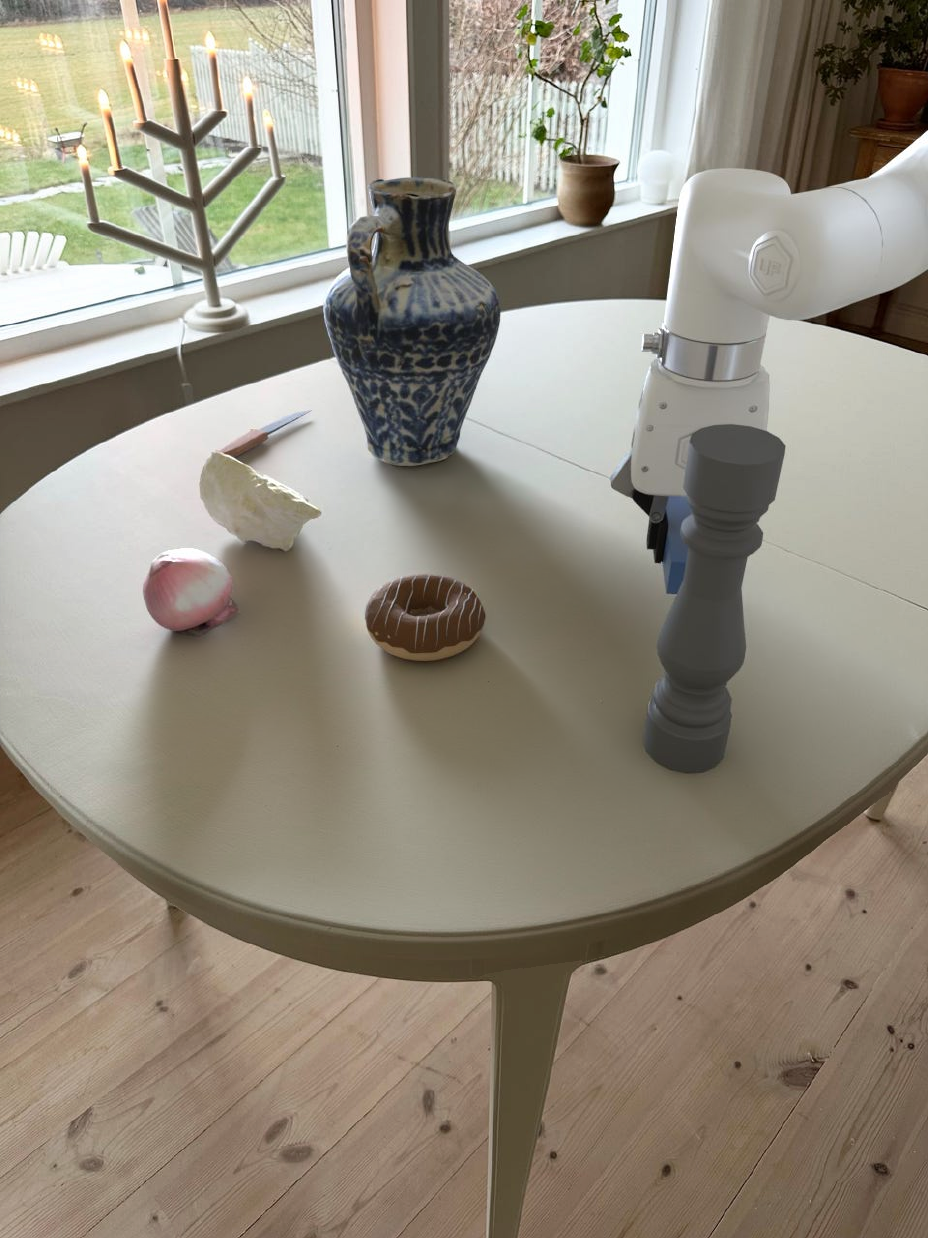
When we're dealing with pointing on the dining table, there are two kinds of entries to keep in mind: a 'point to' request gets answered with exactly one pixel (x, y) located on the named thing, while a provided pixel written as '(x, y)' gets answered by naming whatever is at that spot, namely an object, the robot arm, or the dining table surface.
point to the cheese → (252, 503)
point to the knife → (257, 436)
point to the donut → (424, 617)
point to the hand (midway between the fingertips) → (678, 554)
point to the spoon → (675, 544)
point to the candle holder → (711, 594)
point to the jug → (410, 323)
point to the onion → (188, 592)
